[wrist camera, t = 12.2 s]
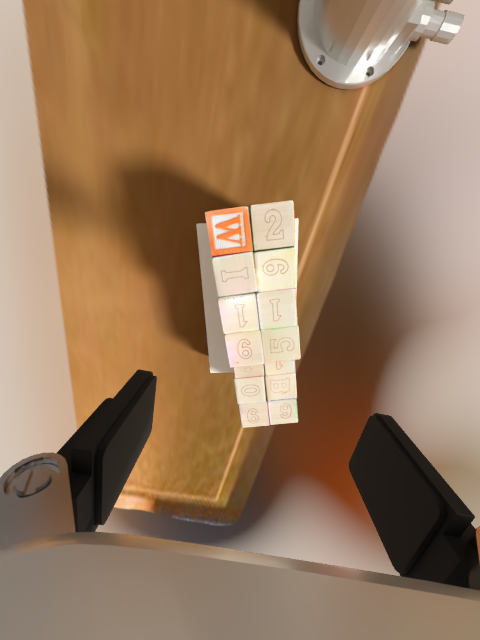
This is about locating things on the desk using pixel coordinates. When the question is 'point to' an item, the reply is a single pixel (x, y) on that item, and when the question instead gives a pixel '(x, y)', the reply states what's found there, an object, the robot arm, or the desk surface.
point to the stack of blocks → (258, 306)
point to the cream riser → (211, 308)
